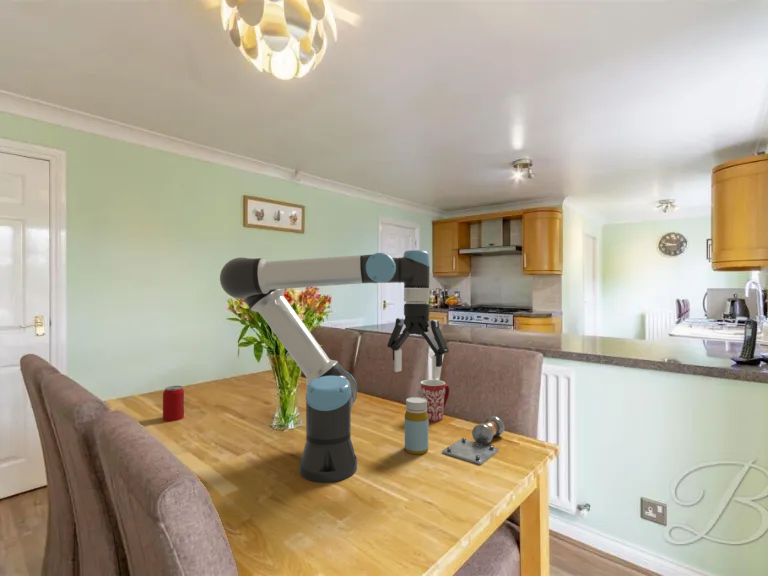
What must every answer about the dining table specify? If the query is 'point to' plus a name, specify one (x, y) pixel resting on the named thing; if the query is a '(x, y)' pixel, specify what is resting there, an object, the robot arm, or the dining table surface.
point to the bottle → (416, 425)
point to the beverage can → (173, 403)
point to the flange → (478, 442)
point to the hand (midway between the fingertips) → (416, 374)
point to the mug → (435, 398)
